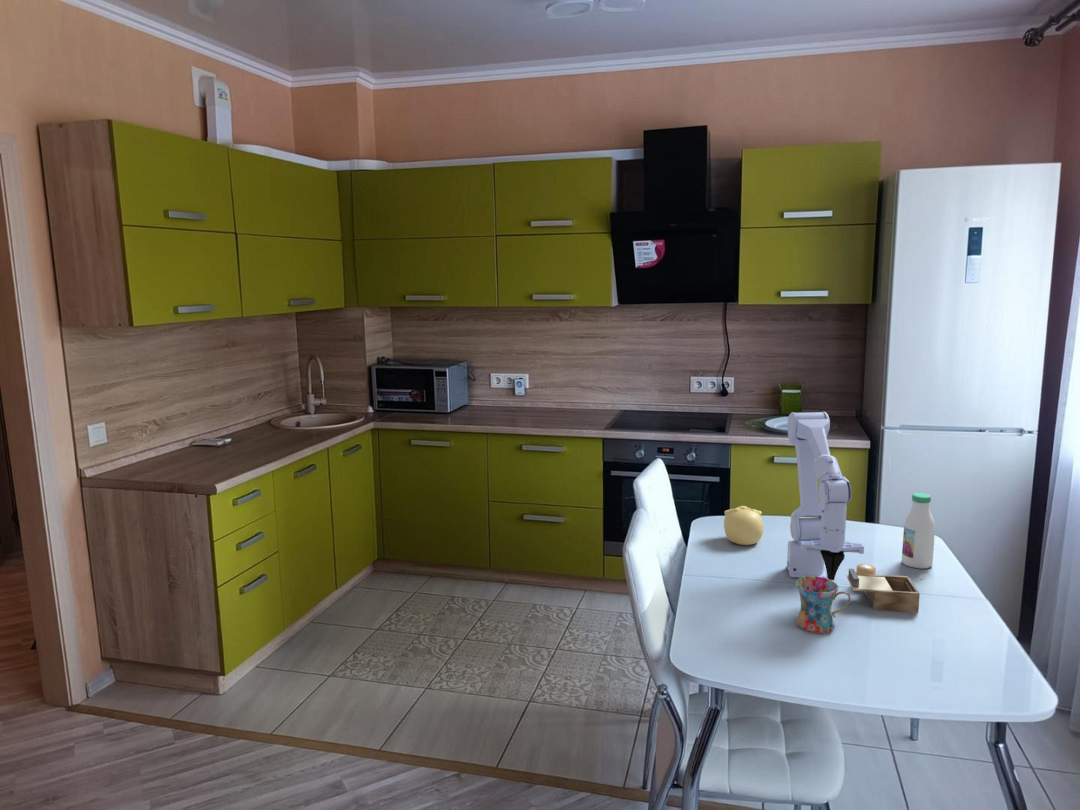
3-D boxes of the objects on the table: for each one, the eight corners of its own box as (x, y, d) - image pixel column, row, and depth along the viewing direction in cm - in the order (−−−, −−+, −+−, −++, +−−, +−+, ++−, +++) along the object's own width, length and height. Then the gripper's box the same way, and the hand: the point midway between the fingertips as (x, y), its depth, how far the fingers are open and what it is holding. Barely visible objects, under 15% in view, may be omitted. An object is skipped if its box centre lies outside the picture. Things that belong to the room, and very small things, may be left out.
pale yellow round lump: (759, 534, 239) (760, 501, 237) (765, 549, 227) (766, 514, 225) (721, 534, 240) (722, 501, 238) (726, 548, 228) (727, 513, 226)
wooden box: (874, 609, 187) (875, 591, 186) (865, 592, 196) (866, 574, 195) (918, 612, 185) (919, 593, 184) (906, 594, 195) (908, 576, 194)
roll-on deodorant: (857, 588, 199) (858, 570, 198) (854, 581, 203) (855, 563, 202) (876, 589, 198) (877, 570, 197) (872, 582, 202) (873, 564, 201)
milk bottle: (931, 560, 215) (936, 492, 211) (932, 571, 208) (938, 500, 204) (901, 557, 218) (906, 489, 215) (901, 567, 211) (906, 497, 208)
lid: (853, 590, 188) (853, 580, 187) (846, 577, 196) (847, 567, 195) (892, 592, 186) (893, 582, 186) (884, 578, 194) (884, 568, 193)
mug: (795, 634, 176) (796, 590, 174) (793, 616, 185) (795, 574, 183) (851, 639, 173) (853, 595, 171) (846, 621, 182) (848, 578, 180)
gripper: (804, 531, 187) (802, 583, 190) (867, 533, 185) (864, 586, 187) (800, 521, 194) (798, 572, 197) (861, 523, 191) (858, 575, 194)
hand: (830, 578), depth 192 cm, fingers closed
